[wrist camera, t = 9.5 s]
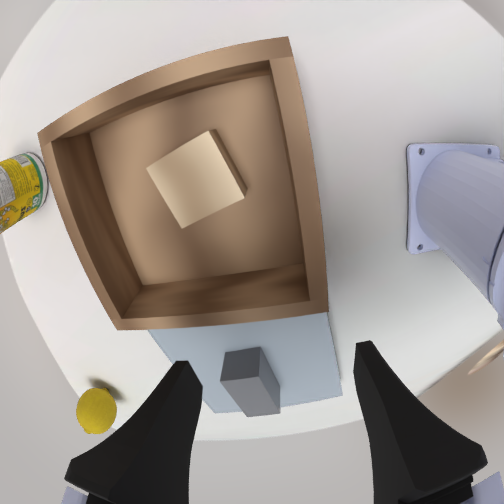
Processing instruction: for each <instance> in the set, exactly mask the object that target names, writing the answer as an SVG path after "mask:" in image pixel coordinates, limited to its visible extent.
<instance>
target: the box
mask: <svg viewBox="0 0 504 504" xmlns="http://www.w3.org/2000/svg"><path fill="white" fill-rule="evenodd" d="M214 129H216V130H217V132H218V134H219V136H220V137H221V139H222V141H223V143H224V145H225V147H226V149H227V150H228V152H229V154H230V156H231V158H232V160H233V162H234V163H235V165H236V167H237V169H238V171H239V173H240V175H241V177H242V178H243V180H244V182H245V184H246V186H247V188H248V189H247V193H246V196H245V198H244V199H242V200H240V201H237V202H235V203H233V204H231V205H229V206H227V207H225V208H223V209H221V210H219V211H217V212H215V213H212V214H210V215H208V216H206V217H204V218H202V219H200V220H198V221H196V222H194V223H192V224H190V225H188V226H186V227H184V228H181V226H180V225H179V223H178V221H177V220H176V218H175V217H174V215H173V213H172V212H171V210H170V208H169V207H168V205H167V203H166V202H165V200H164V198H163V197H162V195H161V193H160V192H159V190H158V188H157V186H156V185H155V183H154V181H153V180H152V178H151V176H150V174H149V173H148V171H147V169H146V168H147V167H149V166H150V165H152V164H153V163H155V162H156V161H158V160H160V159H161V158H163V157H164V156H166V155H167V154H169V153H171V152H172V151H174V150H176V149H177V148H179V147H180V146H182V145H184V144H186V143H187V142H189V141H191V140H192V139H194V138H196V137H198V136H199V135H201V134H203V133H205V132H207V131H209V130H214ZM37 134H38V138H39V143H40V147H41V151H42V155H43V159H44V163H45V167H46V170H47V174H48V177H49V181H50V184H51V187H52V190H53V193H54V196H55V199H56V202H57V205H58V208H59V211H60V213H61V216H62V219H63V221H64V224H65V227H66V229H67V232H68V234H69V237H70V239H71V241H72V244H73V246H74V248H75V251H76V253H77V255H78V257H79V260H80V262H81V264H82V266H83V268H84V270H85V272H86V274H87V276H88V278H89V280H90V282H91V284H92V286H93V288H94V290H95V292H96V294H97V296H98V298H99V300H100V301H101V303H102V305H103V307H104V309H105V310H106V312H107V314H108V316H109V317H110V319H111V321H112V322H113V324H114V326H115V327H116V329H117V330H151V329H174V328H191V327H205V326H218V325H229V324H240V323H249V322H259V321H267V320H275V319H283V318H291V317H298V316H305V315H312V314H318V313H325V312H329V307H328V288H327V273H326V260H325V248H324V237H323V227H322V218H321V209H320V201H319V193H318V186H317V178H316V171H315V165H314V158H313V152H312V146H311V140H310V134H309V128H308V123H307V118H306V112H305V107H304V102H303V97H302V93H301V88H300V83H299V79H298V75H297V70H296V66H295V62H294V58H293V54H292V50H291V46H290V42H289V38H288V36H287V37H279V38H272V39H265V40H259V41H253V42H248V43H243V44H238V45H234V46H229V47H225V48H221V49H217V50H213V51H209V52H205V53H202V54H198V55H195V56H192V57H189V58H185V59H182V60H179V61H176V62H173V63H170V64H168V65H165V66H162V67H160V68H157V69H154V70H152V71H149V72H147V73H144V74H142V75H140V76H137V77H135V78H133V79H130V80H128V81H126V82H124V83H122V84H119V85H117V86H115V87H113V88H111V89H109V90H107V91H105V92H103V93H101V94H99V95H98V96H96V97H94V98H92V99H90V100H88V101H87V102H85V103H83V104H81V105H80V106H78V107H76V108H75V109H73V110H71V111H70V112H68V113H66V114H65V115H63V116H62V117H60V118H59V119H57V120H55V121H54V122H53V123H51V124H50V125H48V126H47V127H45V128H44V129H42V130H41V131H40V132H38V133H37Z"/></svg>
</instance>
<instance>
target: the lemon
mask: <svg viewBox="0 0 504 504" xmlns="http://www.w3.org/2000/svg"><path fill="white" fill-rule="evenodd" d="M116 413H117V407H116V403H115V401H114V399H113V397H112V396H111V395H110V394H109V391H108V389H106V388H103V389H99V388H92V389H89V390H87V391H86V392H85V393H84V394H83V395H82V396H81V397H80V399H79V401H78V404H77V409H76V415H77V419H78V422H79V423H80V425H81V426H82V427H83V428H84V431H85V432H86V433H88V434H91V433H93V434H101V433H104V432H106V431H107V430H108V429H109V428H110V427H111V426H112V424H113V422H114V420H115V418H116Z"/></svg>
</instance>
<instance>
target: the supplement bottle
mask: <svg viewBox="0 0 504 504" xmlns="http://www.w3.org/2000/svg"><path fill="white" fill-rule="evenodd" d="M46 193H47V176H46V172H45V169H44V167H43V164H42V163H41V161H40V160H39V159H38V158H37V157H36V156H35V155H33V154H31V153H24V154H21V155H17V156H15V157H12V158H9V159H7V160H4V161H2V162H0V234H1V233H2V232H4V231H5V230H6V229H8V228H9V227H11V226H12V225H14V224H16V223H17V222H18V221H20V220H22V219H23V218H25V217H27V216H28V215H30V214H31V213H33V212H35V211H36V210H38V209H39V208H40V207H41V206H42V205H43V203H44V200H45V197H46Z"/></svg>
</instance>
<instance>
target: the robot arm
mask: <svg viewBox="0 0 504 504" xmlns="http://www.w3.org/2000/svg"><path fill="white" fill-rule="evenodd" d="M420 148H421V149H422V153H421V154H419V152H418V151H419V149H420ZM487 151H488V152H487ZM407 160H408V184H409V217H408V241H407V250H408V251H409V252H410V253H411V254H417V253H423V252H428V251H433V250H438V249H441V250H442V251H443V252H444V253H445V254H446V255H447V256H448V257H449V258H450V259H451V260H452V261H453V262H454V263H455V264H456V265H457V266H458V267H459V268H460V269H461V270H462V271H463V272H464V274H465V275H466V276H467V277H468V278H469V279H470V280H471V281H472V282H473V284H474V285H475V286H476V287H477V288H478V289H479V290H480V292H481V293H482V294H483V295H484V296H485V298H486V299H487V300H488V301H489V302H490V304H491V305H492V306H493V308H494V309H495V310H496V311H497V313H498V320H497V321H498V323H499V324H500V325H501V327H502V328H503V330H504V160H501V159H500V149H499V147H498V146H496V145H486V144H463V143H419V144H410V145H409V146H408V148H407ZM420 244H421V245H420ZM418 245H420V247H419V248H417V247H418ZM353 373H354V379H355V385H356V391H357V395H358V399H359V402H360V406H361V410H362V413H363V417H364V421H365V425H366V428H367V432H368V436H369V442H370V449H371V458H372V469H373V485H374V504H504V489H503V484H502V480H501V476H500V472H497V473H495V474H493V475H492V476H490V477H488V478H487V479H485V480H484V481H482V482H480V483H478V484H476V485H474V486H472V487H471V482H473V476H472V475H473V474H474V473H476V472H477V471H479V470H480V469H482V468H483V467H485V466H486V465H487V463H488V462H487V458H486V455H485V452H484V450H483V448H482V446H481V445H479V444H478V443H476V442H474V441H472V440H470V439H468V438H467V437H465V436H463V435H462V434H460V433H459V432H457V431H456V430H454V429H452V428H451V427H450V426H449V425H447V424H446V423H445V422H443V421H442V420H441V419H439V418H438V417H437V416H436V415H434V414H433V413H432V412H431V411H430V410H429V409H427V408H426V407H425V406H424V405H423V404H422V403H421V402H420V401H419V400H418V399H417V398H416V397H415V396H414V395H413V394H412V393H411V391H410V390H409V389H408V388H407V387H406V386H405V385H404V384H403V383H402V381H401V380H400V379H399V378H398V376H397V375H396V374H395V373H394V372H393V370H392V369H391V368H390V366H389V365H388V364H387V362H386V361H385V360H384V358H383V357H382V356H381V354H380V353H379V351H378V350H377V348H376V347H375V345H374V344H373V342H372V341H370V340H369V341H365V342H360V343H356V350H355V361H354V370H353ZM202 393H203V385H202V384H201V382H200V380H199V379H198V377H197V375H196V373H195V372H194V370H193V368H192V366H191V365H190V363H189V361H188V360H186V361H175V363H174V364H173V365H172V367H171V368H170V369H169V371H168V372H167V373H166V375H165V376H164V377H163V379H162V380H161V381H160V383H159V384H158V385H157V387H156V388H155V389H154V391H153V392H152V393H151V394H150V396H149V397H148V398H147V400H146V401H145V402H144V403H143V404H142V405H141V407H140V408H139V409H138V410H137V411H136V412H135V413H134V414H133V415H132V417H131V418H130V419H129V420H128V421H127V422H126V423H124V424H123V425H122V426H121V427H120V428H119V429H118V430H117V431H115V432H114V433H113V434H112V435H111V436H109V437H108V438H107V439H105V440H104V441H103V442H101V443H100V444H98V445H97V446H95V447H94V448H92V449H90V450H89V451H87V452H85V453H83V454H81V455H79V456H77V457H75V458H73V459H72V460H71V462H70V464H69V467H68V469H67V472H66V475H65V478H64V479H65V480H66V481H68V482H69V483H71V484H73V485H75V486H77V487H79V488H81V489H83V490H85V491H87V492H89V495H88V496H86V495H84V494H82V493H80V492H78V491H76V490H74V489H73V488H71V487H67V488H66V491H65V494H64V497H63V500H62V503H61V504H189V493H188V492H189V467H190V457H191V450H192V444H193V440H194V435H195V431H196V427H197V423H198V418H199V414H200V409H201V404H202Z"/></svg>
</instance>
